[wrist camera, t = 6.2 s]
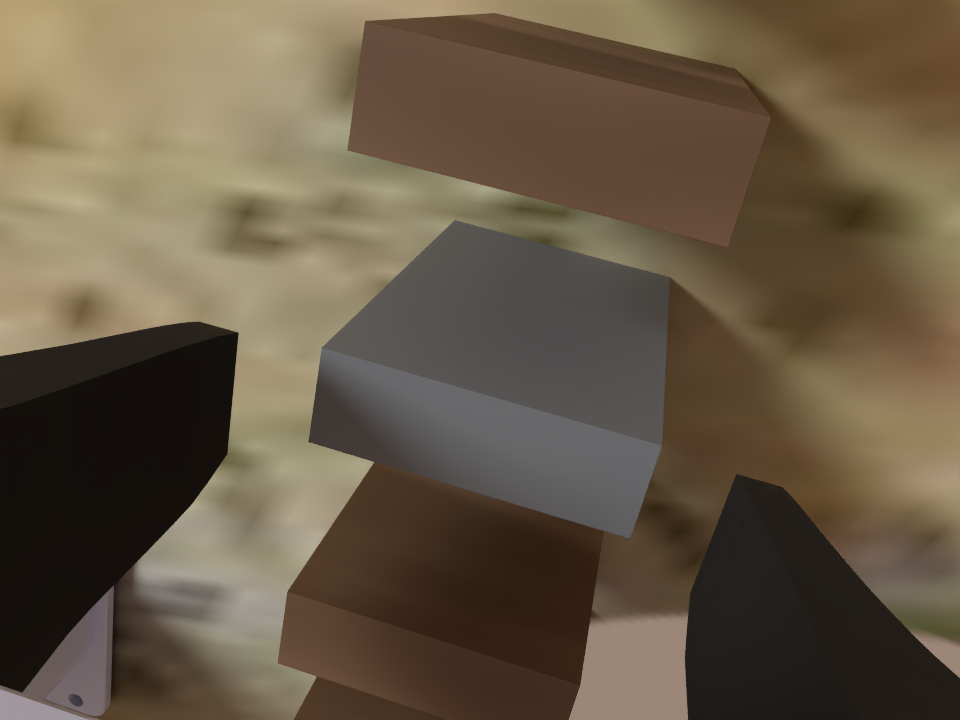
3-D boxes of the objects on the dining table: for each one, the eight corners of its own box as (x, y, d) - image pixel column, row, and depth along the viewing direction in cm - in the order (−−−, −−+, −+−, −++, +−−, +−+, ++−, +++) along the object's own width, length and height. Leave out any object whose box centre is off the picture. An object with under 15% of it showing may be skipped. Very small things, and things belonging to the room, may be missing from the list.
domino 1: (709, 148, 18) (727, 247, 11) (479, 92, 18) (347, 150, 11) (734, 69, 17) (771, 117, 10) (494, 13, 18) (365, 21, 11)
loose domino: (649, 342, 20) (630, 539, 13) (441, 285, 20) (309, 441, 13) (670, 277, 19) (661, 445, 12) (454, 220, 20) (322, 347, 12)
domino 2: (598, 503, 22) (556, 755, 14) (410, 448, 22) (277, 663, 15) (615, 449, 21) (580, 685, 14) (420, 393, 22) (287, 591, 14)
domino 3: (556, 639, 24) (500, 921, 16) (383, 584, 24) (254, 833, 17) (570, 593, 23) (519, 866, 16) (392, 538, 23) (262, 777, 16)
